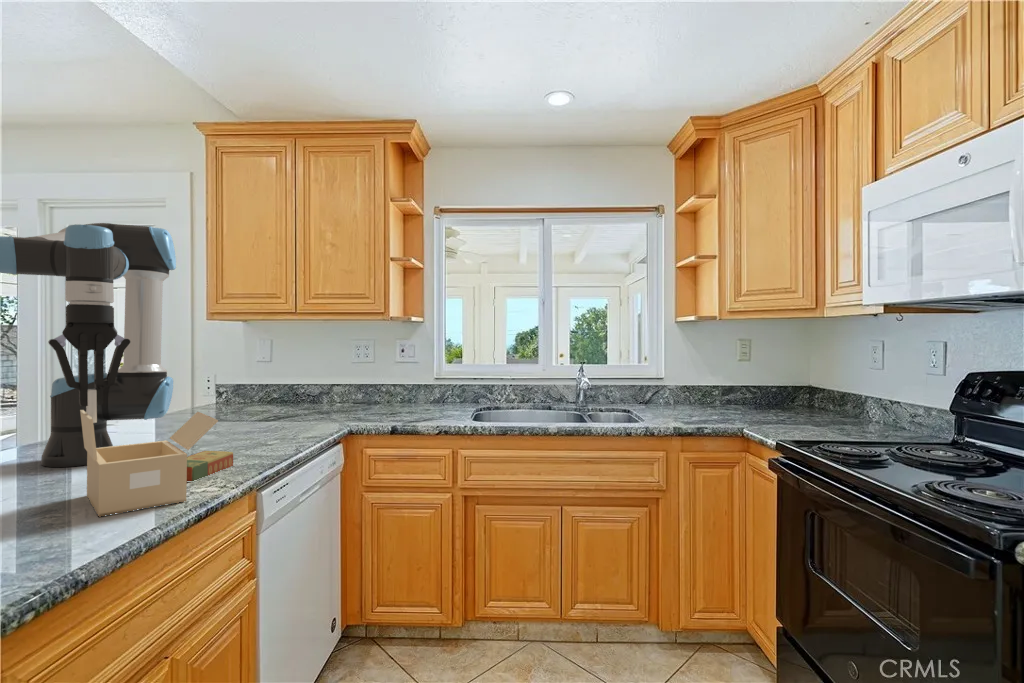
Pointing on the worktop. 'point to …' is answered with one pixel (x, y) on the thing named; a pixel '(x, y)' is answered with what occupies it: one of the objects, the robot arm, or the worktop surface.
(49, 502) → the worktop surface
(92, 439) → the near flap
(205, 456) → the carton
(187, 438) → the far flap
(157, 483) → the cardboard box
